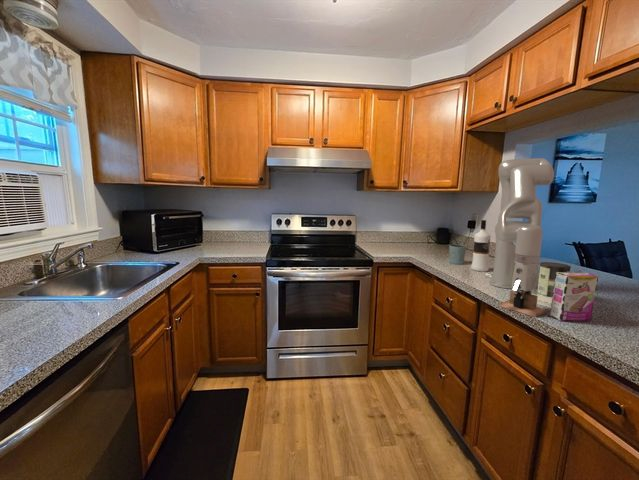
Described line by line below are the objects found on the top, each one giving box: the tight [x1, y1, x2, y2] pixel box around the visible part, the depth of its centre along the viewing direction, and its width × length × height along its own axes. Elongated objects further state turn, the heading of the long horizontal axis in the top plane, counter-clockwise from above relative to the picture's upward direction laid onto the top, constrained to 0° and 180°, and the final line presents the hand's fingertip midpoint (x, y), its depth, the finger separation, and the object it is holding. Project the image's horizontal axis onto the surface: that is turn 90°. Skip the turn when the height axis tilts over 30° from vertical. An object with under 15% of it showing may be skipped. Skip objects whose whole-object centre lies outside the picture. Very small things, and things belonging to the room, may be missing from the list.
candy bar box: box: [549, 271, 599, 322], centre depth 99 cm, size 11×5×16 cm, turn 92°
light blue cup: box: [448, 243, 467, 266], centre depth 186 cm, size 10×10×12 cm
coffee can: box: [536, 261, 572, 298], centre depth 123 cm, size 10×10×14 cm
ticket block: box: [532, 293, 552, 309], centre depth 116 cm, size 12×8×2 cm, turn 31°
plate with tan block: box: [499, 289, 546, 318], centre depth 107 cm, size 12×7×6 cm, turn 31°
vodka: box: [470, 219, 492, 273], centre depth 167 cm, size 9×9×30 cm
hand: (521, 305), depth 107 cm, fingers open, 4 cm apart
